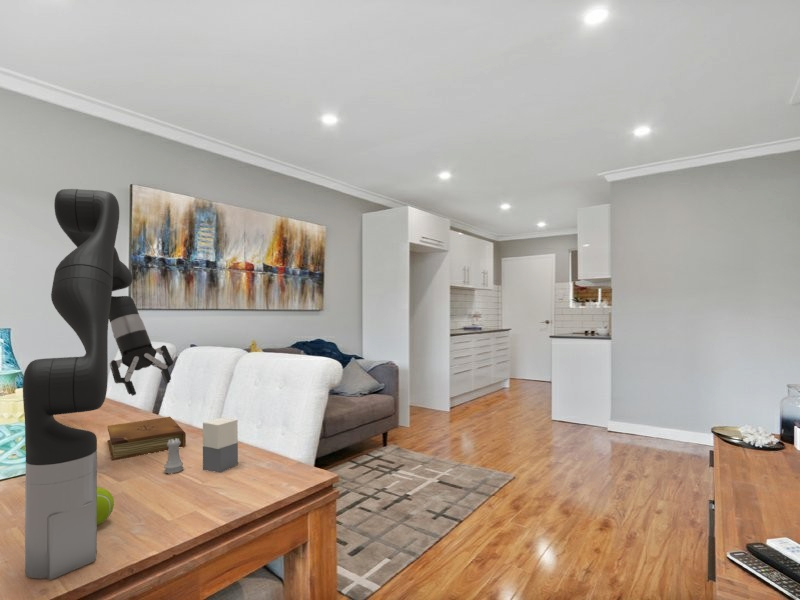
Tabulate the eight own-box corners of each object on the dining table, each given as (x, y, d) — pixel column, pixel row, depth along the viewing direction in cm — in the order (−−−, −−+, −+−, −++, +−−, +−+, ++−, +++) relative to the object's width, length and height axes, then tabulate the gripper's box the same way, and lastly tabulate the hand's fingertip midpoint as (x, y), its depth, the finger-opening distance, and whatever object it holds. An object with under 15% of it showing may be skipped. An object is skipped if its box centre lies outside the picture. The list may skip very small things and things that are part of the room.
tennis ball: (117, 525, 82) (117, 488, 83) (72, 539, 77) (72, 500, 78) (109, 513, 87) (109, 478, 88) (66, 526, 82) (66, 489, 83)
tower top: (237, 442, 114) (237, 419, 114) (218, 449, 109) (217, 425, 109) (222, 439, 117) (222, 417, 117) (202, 445, 112) (202, 422, 112)
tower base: (237, 464, 115) (237, 442, 115) (220, 472, 109) (220, 448, 109) (220, 462, 117) (220, 439, 117) (202, 469, 111) (202, 446, 111)
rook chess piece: (175, 474, 108) (175, 442, 108) (159, 473, 109) (159, 442, 109) (187, 468, 112) (187, 437, 113) (172, 467, 113) (172, 436, 114)
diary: (185, 449, 131) (185, 430, 131) (111, 463, 120) (111, 442, 120) (172, 432, 149) (172, 415, 149) (107, 443, 138) (107, 424, 138)
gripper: (102, 338, 111) (125, 397, 110) (161, 323, 121) (182, 377, 120) (98, 345, 116) (119, 401, 115) (155, 329, 126) (174, 381, 125)
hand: (151, 388), depth 118 cm, fingers open, 8 cm apart
